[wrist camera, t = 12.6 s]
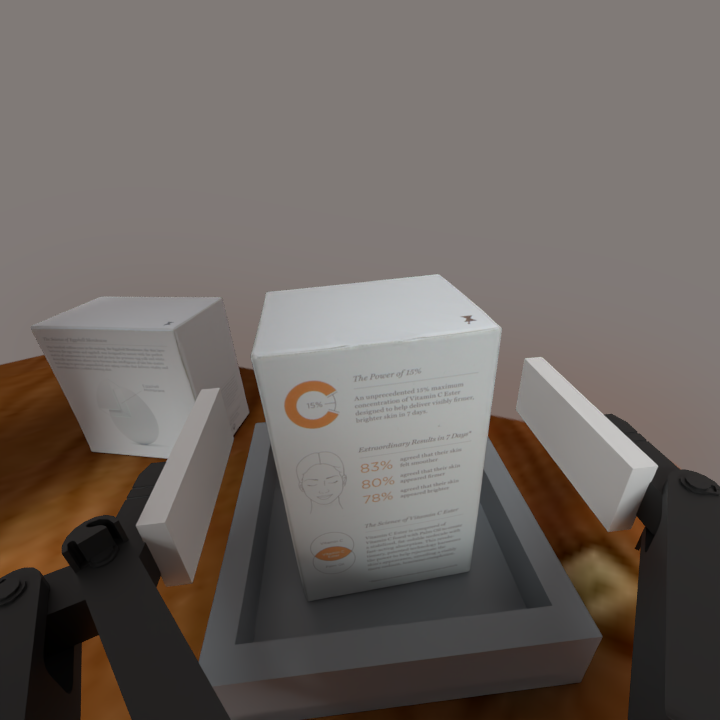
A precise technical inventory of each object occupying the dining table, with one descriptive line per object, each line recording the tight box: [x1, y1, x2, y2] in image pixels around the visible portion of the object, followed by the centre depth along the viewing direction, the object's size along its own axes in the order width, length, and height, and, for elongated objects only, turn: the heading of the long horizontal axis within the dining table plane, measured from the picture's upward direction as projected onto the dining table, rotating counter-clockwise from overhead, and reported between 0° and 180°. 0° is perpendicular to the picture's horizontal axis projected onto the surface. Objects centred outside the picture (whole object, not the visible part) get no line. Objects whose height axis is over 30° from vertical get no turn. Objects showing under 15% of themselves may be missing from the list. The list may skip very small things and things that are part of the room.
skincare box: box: [31, 297, 249, 459], centre depth 29 cm, size 10×6×10 cm, turn 80°
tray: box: [199, 422, 603, 720], centre depth 21 cm, size 14×14×4 cm
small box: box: [251, 274, 502, 601], centre depth 18 cm, size 8×6×13 cm
